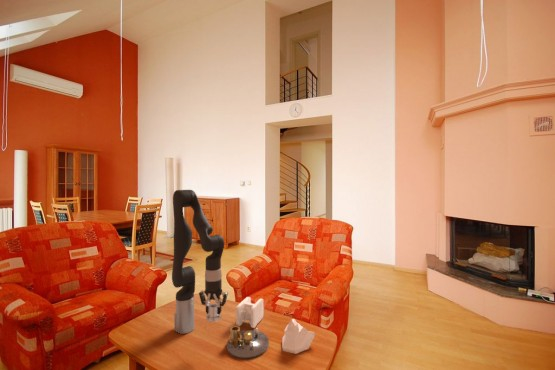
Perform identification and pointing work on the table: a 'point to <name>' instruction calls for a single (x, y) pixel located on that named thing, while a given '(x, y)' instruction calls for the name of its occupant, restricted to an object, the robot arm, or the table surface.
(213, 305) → the gear
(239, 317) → the cable organizer
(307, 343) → the white faceted rock
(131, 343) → the table surface
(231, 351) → the carrier
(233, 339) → the seated gear
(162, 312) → the table surface
